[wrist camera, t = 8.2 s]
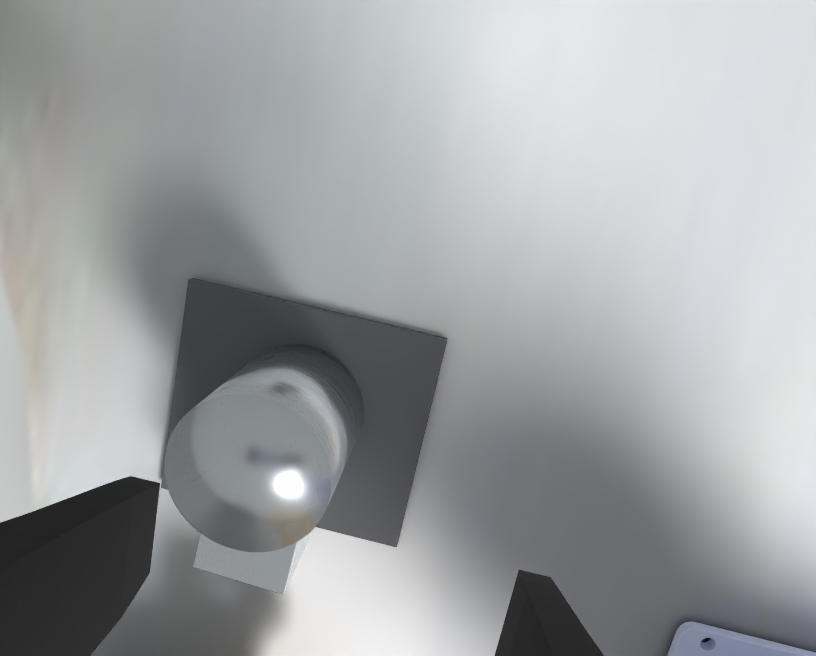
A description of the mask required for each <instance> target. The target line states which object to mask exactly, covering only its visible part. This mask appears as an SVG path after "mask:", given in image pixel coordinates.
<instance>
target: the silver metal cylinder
mask: <svg viewBox="0 0 816 656" xmlns="http://www.w3.org/2000/svg"><path fill="white" fill-rule="evenodd" d="M363 418H364V404H363V398H362V394H361V391H360V388H359V385H358V384H357V382H356V380H355V378H354V376H353V375H352V373H351V372H350V371H349V370H348V368H347V367H346V366H345V365H344V364H343V363H342V362H341V361H339V360H338V359H337V358H336V357H334V356H333V355H331V354H330V353H328V352H326V351H324V350H321V349H319V348H316V347H313V346H308V345H302V344H287V345H281V346H277V347H274V348H271V349H269V350H267V351H265V352H263V353H262V354H260V355H259V356H257V357H256V358H255V359H253V360H252V361H251V362H250V363H249V364H247V365H246V366H245V367H244V368H242V369H241V370H240V371H239V372H237V373H236V374H235V375H234V376H232V377H231V378H230V379H229V380H227V381H226V382H225V383H224V384H222V385H221V386H220V387H219V388H217V389H216V390H215V391H214V392H212V393H211V394H210V395H209V396H207V397H206V398H205V399H204V400H202V401H201V402H200V403H199V404H197V405H196V406H195V407H194V408H193V409H191V410H190V411H189V412H188V413H187V414H186V415H184V416H183V418H182V419H181V420H180V421H179V422H178V424H177V425H176V427H175V428H174V430H173V432H172V434H171V436H170V438H169V441H168V444H167V447H166V451H165V460H164V469H165V477H166V483H167V486H168V490H169V493H170V495H171V497H172V499H173V502H174V503H175V505H176V507H177V508H178V510H179V511H180V513H181V514H182V515H183V517H184V518H185V519H186V520H187V521H188V522H189V523H190V524H191V525H192V527H194V528H195V529H196V530H197V531H198V532H200V537H199V542H198V547H197V552H196V556H195V561H194V566H193V567H194V568H198V569H201V570H204V571H208V572H211V573H214V574H218V575H221V576H224V577H227V578H231V579H234V580H237V581H241V582H244V583H247V584H250V585H254V586H257V587H260V588H264V589H267V590H270V591H274V592H277V593H280V594H284V592H285V590H286V587H287V585H288V583H289V581H290V579H291V576H292V574H293V572H294V570H295V568H296V565H297V563H298V561H299V559H300V556H301V554H302V552H303V550H304V548H305V545H306V543H307V541H308V537H309V533H310V532H311V531H312V530H313V529H314V528H315V527H316V525H317V524H318V522H319V521H320V520H321V518H322V516H323V514H324V512H325V510H326V508H327V506H328V504H329V501H330V499H331V497H332V495H333V492H334V490H335V488H336V486H337V483H338V481H339V479H340V476H341V474H342V472H343V470H344V467H345V465H346V463H347V460H348V458H349V456H350V454H351V451H352V449H353V447H354V445H355V442H356V440H357V438H358V435H359V433H360V430H361V427H362V423H363Z"/></svg>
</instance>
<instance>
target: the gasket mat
mask: <svg viewBox="0 0 816 656" xmlns="http://www.w3.org/2000/svg"><path fill="white" fill-rule="evenodd" d="M446 343H447V338H443V337H438V336H434V335H430V334H426V333H421V332H417V331H413V330H409V329H405V328H400V327H396V326H392V325H388V324H384V323H379V322H375V321H371V320H367V319H362V318H358V317H354V316H350V315H346V314H341V313H337V312H333V311H329V310H325V309H320V308H316V307H312V306H308V305H303V304H299V303H295V302H291V301H287V300H282V299H278V298H274V297H270V296H266V295H261V294H257V293H253V292H249V291H244V290H240V289H236V288H232V287H228V286H223V285H219V284H215V283H211V282H207V281H202V280H198V279H194V278H192V279H189V280H188V288H187V295H186V303H185V311H184V318H183V326H182V333H181V341H180V348H179V356H178V363H177V371H176V379H175V386H174V394H173V401H172V409H171V416H170V424H169V431H168V439H167V444H168V441H169V438H170V436H171V434H172V432H173V430H174V428H175V427H176V425H177V424H178V422H179V421H180V420H181V419H182V418H183V416H184V415H186V414H187V413H188V412H189V411H190V410H191V409H193V408H194V407H195V406H196V405H197V404H199V403H200V402H201V401H202V400H204V399H205V398H206V397H207V396H209V395H210V394H211V393H212V392H214V391H215V390H216V389H217V388H219V387H220V386H221V385H222V384H224V383H225V382H226V381H227V380H229V379H230V378H231V377H232V376H234V375H235V374H236V373H237V372H239V371H240V370H241V369H242V368H244V367H245V366H246V365H247V364H249V363H250V362H251V361H252V360H253V359H255V358H256V357H257V356H259V355H260V354H262V353H263V352H265V351H267V350H269V349H271V348H274V347H277V346H281V345H287V344H302V345H308V346H313V347H316V348H319V349H321V350H324V351H326V352H328V353H330V354H331V355H333V356H334V357H336V358H337V359H338V360H339V361H341V362H342V363H343V364H344V365H345V366H346V367H347V368H348V370H349V371H350V372H351V373H352V375H353V376H354V378H355V380H356V382H357V384H358V385H359V388H360V391H361V394H362V398H363V404H364V418H363V423H362V427H361V430H360V433H359V435H358V438H357V440H356V442H355V445H354V447H353V449H352V451H351V454H350V456H349V458H348V460H347V463H346V465H345V467H344V470H343V472H342V474H341V476H340V479H339V481H338V483H337V486H336V488H335V490H334V492H333V495H332V497H331V499H330V501H329V504H328V506H327V508H326V510H325V512H324V514H323V516H322V518H321V520H320V521H319V522H318V524H317V525H316V527H318V528H322V529H326V530H330V531H334V532H338V533H342V534H346V535H350V536H354V537H358V538H362V539H366V540H370V541H374V542H378V543H382V544H386V545H389V546H393V547H397V544H398V540H399V536H400V531H401V527H402V523H403V519H404V515H405V511H406V507H407V503H408V499H409V495H410V490H411V486H412V482H413V478H414V474H415V470H416V466H417V462H418V458H419V453H420V449H421V445H422V441H423V437H424V433H425V429H426V425H427V421H428V417H429V412H430V408H431V404H432V400H433V396H434V392H435V388H436V384H437V380H438V376H439V371H440V367H441V363H442V359H443V355H444V351H445V347H446ZM161 488H164V489H168V486H167V483H166V477H165V469H163V477H162V484H161Z"/></svg>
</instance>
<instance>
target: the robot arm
mask: <svg viewBox="0 0 816 656" xmlns="http://www.w3.org/2000/svg"><path fill="white" fill-rule="evenodd" d="M159 487H160V483H156V482H152V481H148V480H144V479H140V478H136V477H132V476H130V477H127V478H123V479H120V480H117V481H114V482H111V483H108V484H105V485H103V486H100V487H97V488H95V489H92V490H89V491H87V492H84V493H81V494H79V495H76V496H74V497H71V498H68V499H66V500H63V501H60V502H58V503H55V504H52V505H49V506H47V507H44V508H41V509H39V510H36V511H33V512H31V513H28V514H25V515H22V516H19V517H16V518H13V519H10V520H7V521H5V522H2V523H0V656H90V655H91V654H92V652H93V651H94V650H95V649H96V648H97V646H98V645H99V644H100V643H101V642H102V640H103V639H104V638H105V637H106V635H107V634H108V633H109V632H110V631H111V629H112V628H113V627H114V626H115V624H116V623H117V622H118V621H119V619H120V618H121V617H122V615H123V614H124V612H125V611H126V609H127V608H128V606H129V605H130V603H131V602H132V600H133V599H134V597H135V595H136V594H137V592H138V591H139V589H140V587H141V586H142V584H143V582H144V581H145V579H146V578H147V576H148V574H149V573H150V565H151V556H152V548H153V539H154V530H155V522H156V513H157V504H158V496H159ZM705 638H711V639H710V640H709V641H707V642H701V641H702V640H703V639H705ZM495 656H604V655H603V654H602V652H601V651H600V650H599V648H598V647H597V645H596V644H595V643H594V641H593V640H592V638H591V637H590V635H589V634H588V633H587V631H586V630H585V628H584V627H583V625H582V624H581V622H580V621H579V619H578V618H577V616H576V615H575V613H574V612H573V610H572V609H571V607H570V606H569V604H568V603H567V601H566V600H565V598H564V597H563V595H562V593H561V592H560V590H559V589H558V587H557V586H556V584H555V583H554V582H553V580H552V579H551V577H547V576H543V575H539V574H534V573H530V572H526V571H522V570H519V572H518V575H517V579H516V582H515V586H514V589H513V593H512V596H511V600H510V604H509V607H508V611H507V614H506V618H505V621H504V625H503V628H502V632H501V635H500V639H499V643H498V646H497V650H496V653H495ZM667 656H816V652H812V651H808V650H804V649H800V648H796V647H792V646H788V645H784V644H780V643H776V642H772V641H768V640H764V639H760V638H756V637H753V636H749V635H745V634H741V633H737V632H733V631H729V630H725V629H721V628H717V627H713V626H709V625H705V624H701V623H697V622H686V623H683V624H682V625H680V626H679V628H678V629H677V631H676V634H675V636H674V639H673V641H672V644H671V647H670V649H669V652H668V654H667Z"/></svg>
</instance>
